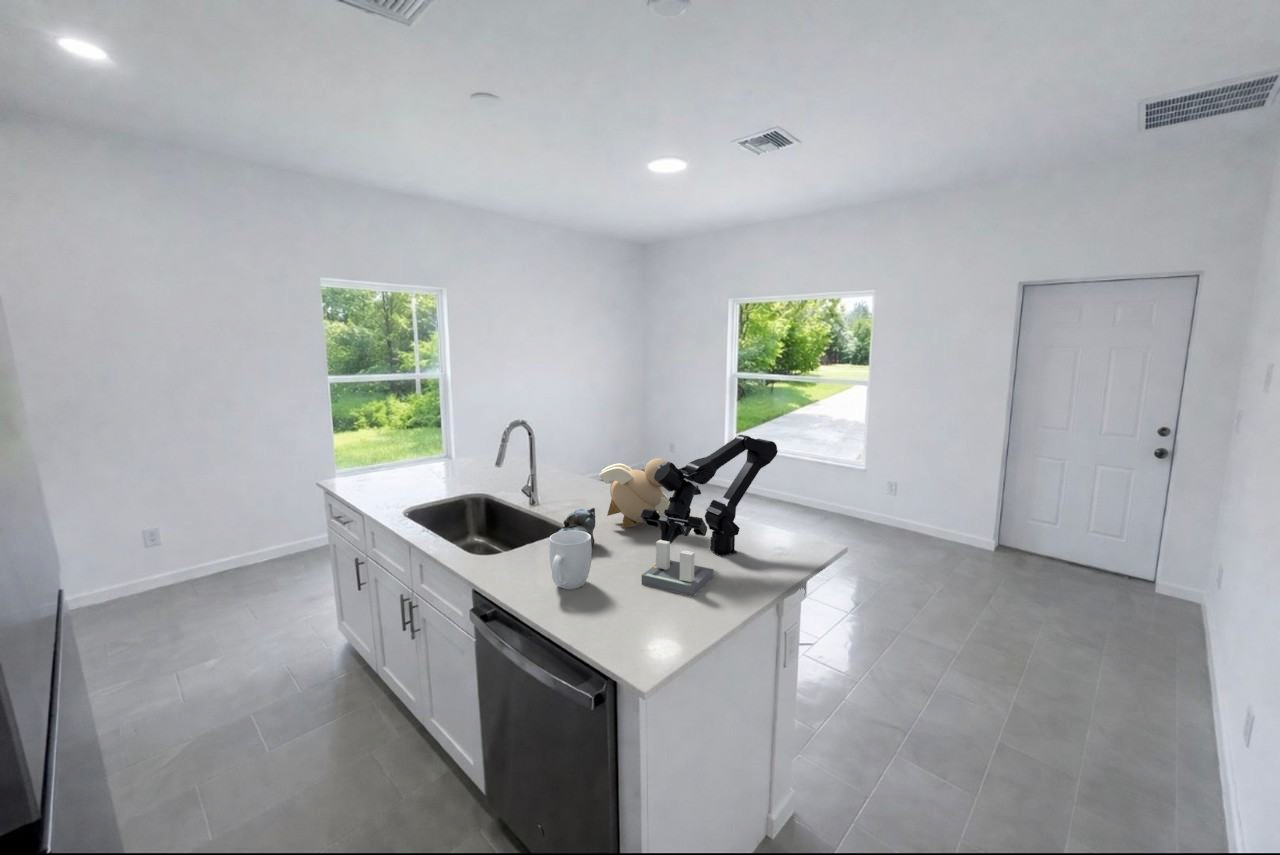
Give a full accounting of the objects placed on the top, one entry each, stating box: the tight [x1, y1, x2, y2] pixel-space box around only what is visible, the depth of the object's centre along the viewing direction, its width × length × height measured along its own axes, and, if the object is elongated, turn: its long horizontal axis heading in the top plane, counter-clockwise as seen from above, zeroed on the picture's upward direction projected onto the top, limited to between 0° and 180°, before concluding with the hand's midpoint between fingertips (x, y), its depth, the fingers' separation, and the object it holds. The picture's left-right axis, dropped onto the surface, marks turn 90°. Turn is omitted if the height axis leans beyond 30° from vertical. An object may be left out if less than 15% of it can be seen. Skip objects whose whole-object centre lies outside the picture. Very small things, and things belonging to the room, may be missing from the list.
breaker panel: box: [641, 559, 714, 597], centre depth 145 cm, size 13×15×3 cm
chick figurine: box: [598, 457, 670, 529], centre depth 191 cm, size 30×28×23 cm
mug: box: [548, 530, 593, 590], centre depth 140 cm, size 15×11×13 cm
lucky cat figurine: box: [557, 507, 596, 550], centre depth 171 cm, size 15×12×14 cm
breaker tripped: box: [655, 539, 671, 570], centre depth 146 cm, size 2×3×7 cm, turn 60°
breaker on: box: [679, 550, 696, 582], centre depth 138 cm, size 2×3×7 cm, turn 60°
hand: (663, 549), depth 148 cm, fingers closed
